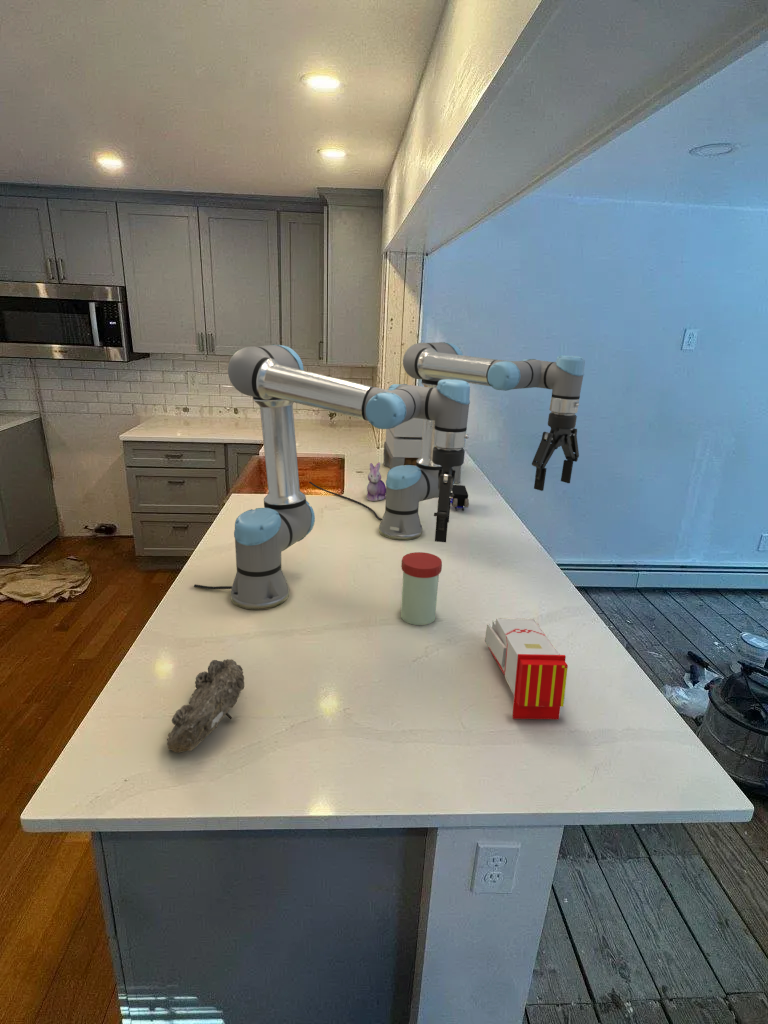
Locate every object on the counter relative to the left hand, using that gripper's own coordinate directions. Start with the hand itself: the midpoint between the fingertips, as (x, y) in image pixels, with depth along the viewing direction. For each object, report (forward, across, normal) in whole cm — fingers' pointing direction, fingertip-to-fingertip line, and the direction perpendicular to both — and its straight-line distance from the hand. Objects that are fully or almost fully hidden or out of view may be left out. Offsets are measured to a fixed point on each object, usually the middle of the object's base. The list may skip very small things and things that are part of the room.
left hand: (442, 531), depth 141 cm
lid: (+8, -2, +4) cm, 9 cm away
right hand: (-5, +33, -30) cm, 45 cm away
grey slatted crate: (+23, +134, +17) cm, 137 cm away
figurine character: (+23, +88, -3) cm, 91 cm away
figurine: (+23, +90, +31) cm, 98 cm away
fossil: (+23, -49, +39) cm, 67 cm away
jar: (+23, -2, +4) cm, 24 cm away
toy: (+23, -24, -20) cm, 39 cm away
